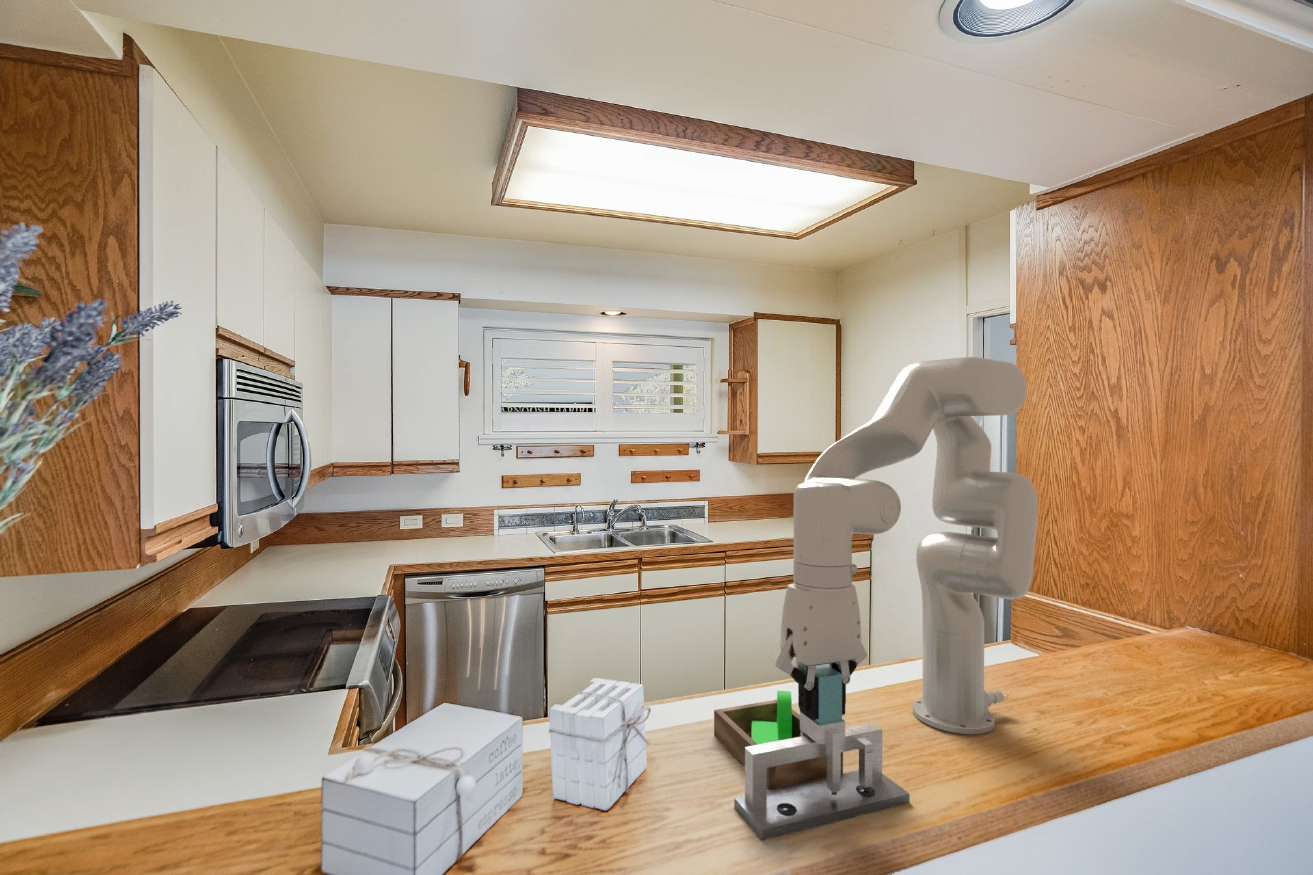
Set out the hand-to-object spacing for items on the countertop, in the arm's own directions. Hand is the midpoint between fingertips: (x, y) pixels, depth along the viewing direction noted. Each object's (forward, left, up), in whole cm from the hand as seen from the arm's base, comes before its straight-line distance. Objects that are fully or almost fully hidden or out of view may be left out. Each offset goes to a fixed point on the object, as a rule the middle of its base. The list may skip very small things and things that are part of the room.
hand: (822, 711), depth 81 cm
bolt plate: (+1, +2, -11) cm, 11 cm away
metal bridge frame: (+1, +1, -11) cm, 11 cm away
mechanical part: (0, -12, -11) cm, 16 cm away
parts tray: (0, -12, -11) cm, 16 cm away
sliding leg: (0, 0, -9) cm, 9 cm away
